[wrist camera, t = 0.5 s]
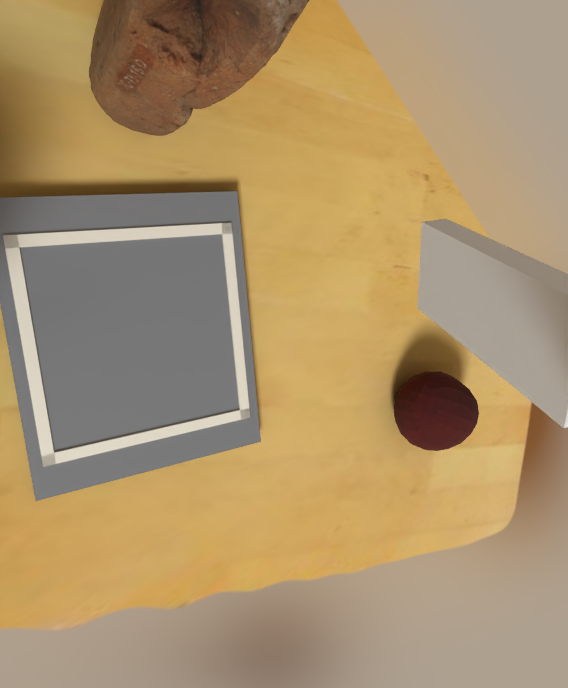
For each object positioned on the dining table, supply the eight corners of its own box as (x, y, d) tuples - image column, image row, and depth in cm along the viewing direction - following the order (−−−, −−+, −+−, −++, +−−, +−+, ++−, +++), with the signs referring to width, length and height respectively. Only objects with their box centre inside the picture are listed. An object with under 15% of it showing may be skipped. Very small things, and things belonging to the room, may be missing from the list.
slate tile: (-18, 200, 33) (-19, 197, 32) (232, 192, 41) (238, 190, 40) (35, 495, 37) (35, 501, 36) (255, 438, 44) (261, 442, 43)
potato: (404, 351, 51) (451, 360, 46) (458, 394, 55) (506, 407, 50) (367, 419, 50) (410, 436, 44) (425, 457, 54) (470, 478, 49)
